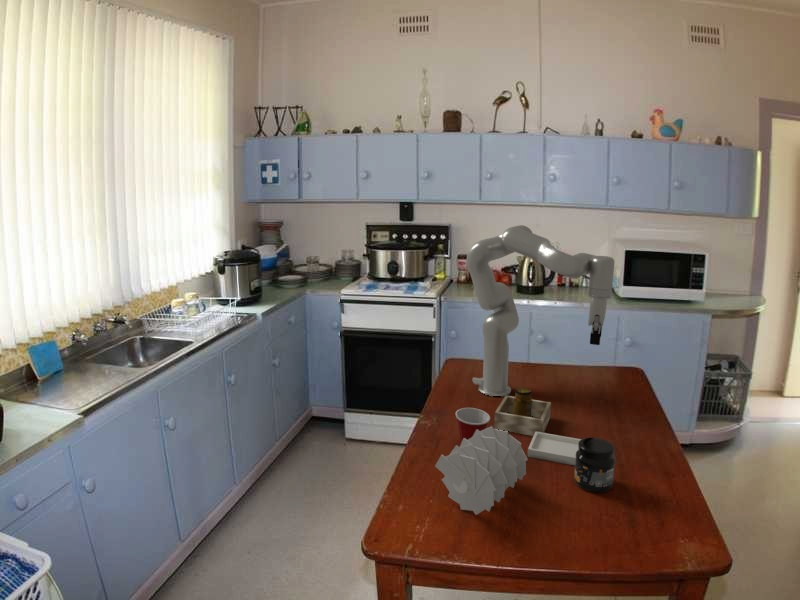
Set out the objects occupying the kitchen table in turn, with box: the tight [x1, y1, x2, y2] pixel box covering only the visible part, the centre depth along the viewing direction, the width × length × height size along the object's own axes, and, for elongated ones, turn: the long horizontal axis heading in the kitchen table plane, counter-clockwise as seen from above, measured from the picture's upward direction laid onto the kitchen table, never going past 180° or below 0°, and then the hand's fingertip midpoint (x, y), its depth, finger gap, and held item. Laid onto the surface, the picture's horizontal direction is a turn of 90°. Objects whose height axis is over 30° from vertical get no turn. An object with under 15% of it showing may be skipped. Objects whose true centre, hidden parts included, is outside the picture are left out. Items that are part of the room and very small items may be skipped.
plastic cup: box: [455, 407, 491, 444], centre depth 183 cm, size 11×11×12 cm
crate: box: [493, 395, 552, 437], centre depth 202 cm, size 16×16×6 cm
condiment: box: [512, 387, 533, 417], centre depth 201 cm, size 7×8×12 cm
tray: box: [527, 432, 583, 467], centre depth 182 cm, size 18×13×2 cm
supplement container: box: [573, 437, 616, 494], centre depth 163 cm, size 10×10×12 cm
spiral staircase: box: [434, 425, 528, 516], centre depth 157 cm, size 18×18×25 cm
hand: (595, 340), depth 204 cm, fingers open, 9 cm apart
